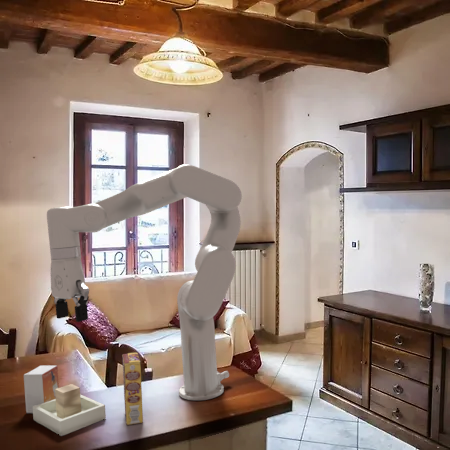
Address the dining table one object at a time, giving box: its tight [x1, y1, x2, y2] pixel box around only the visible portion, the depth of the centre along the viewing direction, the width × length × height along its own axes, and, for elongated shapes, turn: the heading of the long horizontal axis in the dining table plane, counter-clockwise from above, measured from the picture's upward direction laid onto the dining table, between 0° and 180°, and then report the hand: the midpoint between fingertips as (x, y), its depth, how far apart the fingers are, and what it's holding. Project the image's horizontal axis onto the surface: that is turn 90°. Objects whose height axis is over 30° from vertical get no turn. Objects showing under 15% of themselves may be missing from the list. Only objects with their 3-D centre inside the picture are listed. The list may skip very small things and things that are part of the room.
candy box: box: [121, 352, 144, 426], centre depth 123 cm, size 9×4×15 cm, turn 14°
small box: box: [23, 365, 60, 414], centre depth 133 cm, size 8×6×10 cm
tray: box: [32, 393, 107, 437], centre depth 124 cm, size 12×15×4 cm
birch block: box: [55, 383, 81, 419], centre depth 124 cm, size 4×4×7 cm
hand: (72, 319), depth 128 cm, fingers open, 9 cm apart
